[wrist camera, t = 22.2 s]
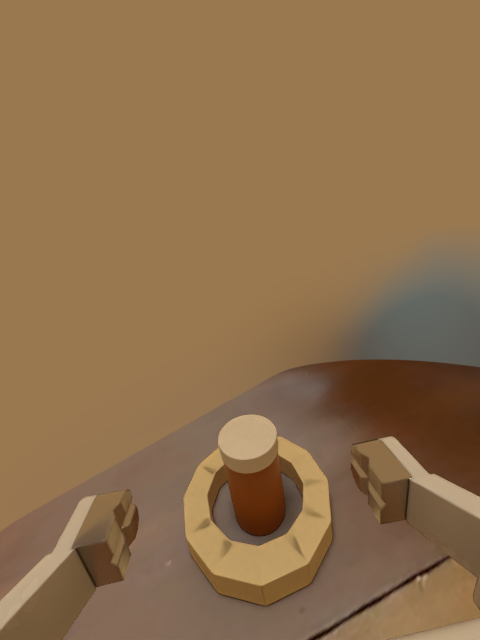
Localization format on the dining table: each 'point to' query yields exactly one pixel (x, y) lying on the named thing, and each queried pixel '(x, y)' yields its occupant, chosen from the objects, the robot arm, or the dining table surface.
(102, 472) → the dining table surface
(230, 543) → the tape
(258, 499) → the amber bottle
